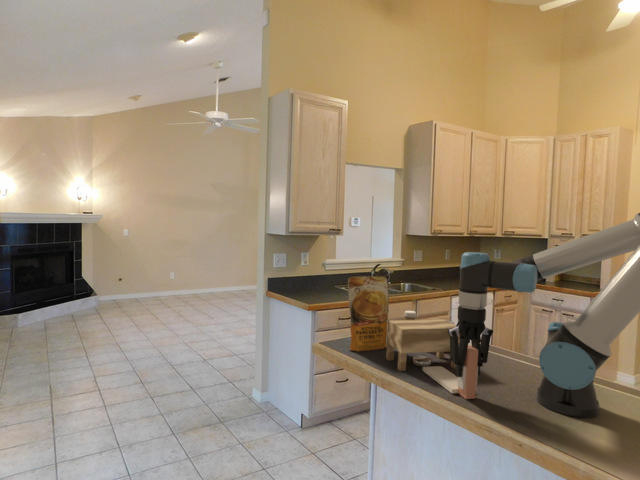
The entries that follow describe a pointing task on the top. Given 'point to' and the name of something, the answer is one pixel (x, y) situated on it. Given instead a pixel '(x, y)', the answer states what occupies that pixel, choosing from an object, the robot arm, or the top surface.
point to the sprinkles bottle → (410, 315)
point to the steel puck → (422, 361)
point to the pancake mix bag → (368, 312)
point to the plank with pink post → (451, 380)
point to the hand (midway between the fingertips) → (467, 386)
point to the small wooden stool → (418, 338)
